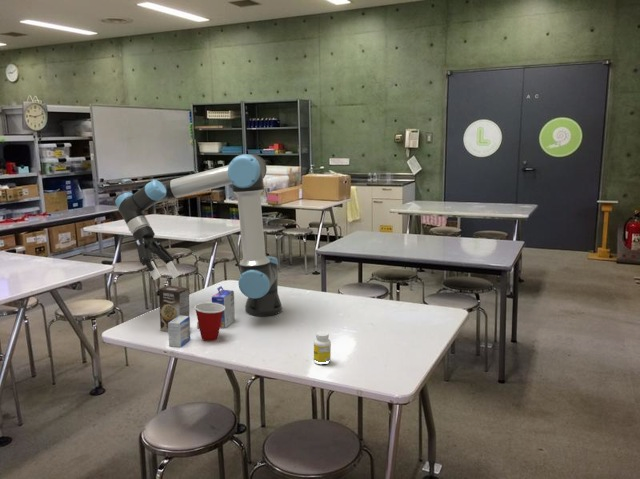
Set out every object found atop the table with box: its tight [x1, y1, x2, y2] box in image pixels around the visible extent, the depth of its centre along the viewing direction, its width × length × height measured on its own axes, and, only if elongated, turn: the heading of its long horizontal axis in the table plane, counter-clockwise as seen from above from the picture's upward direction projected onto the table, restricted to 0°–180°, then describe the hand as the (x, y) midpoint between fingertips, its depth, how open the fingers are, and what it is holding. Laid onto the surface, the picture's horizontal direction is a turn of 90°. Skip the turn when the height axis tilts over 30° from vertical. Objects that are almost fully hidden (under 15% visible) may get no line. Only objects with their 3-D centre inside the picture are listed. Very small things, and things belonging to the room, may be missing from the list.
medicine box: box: [167, 315, 191, 348], centre depth 183 cm, size 8×4×9 cm, turn 168°
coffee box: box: [158, 284, 190, 333], centre depth 194 cm, size 9×6×16 cm
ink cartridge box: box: [211, 285, 236, 329], centre depth 202 cm, size 10×6×14 cm, turn 167°
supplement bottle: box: [313, 330, 332, 362], centre depth 169 cm, size 5×5×10 cm
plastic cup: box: [193, 302, 225, 342], centre depth 187 cm, size 11×11×12 cm
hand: (167, 277), depth 198 cm, fingers open, 13 cm apart
